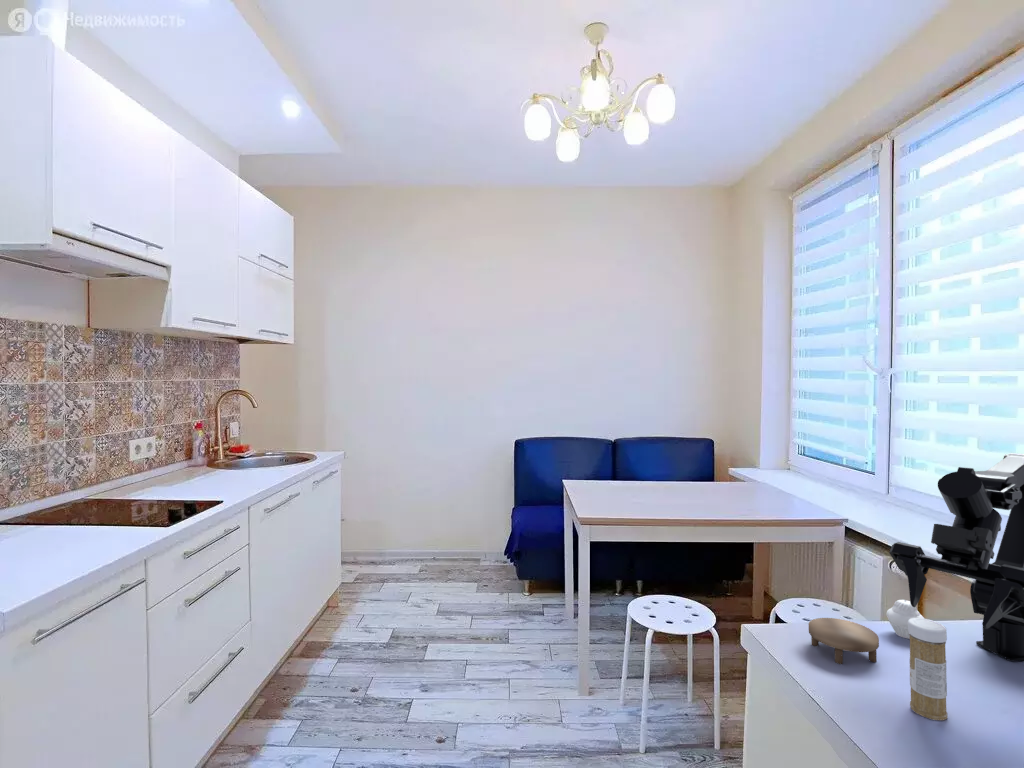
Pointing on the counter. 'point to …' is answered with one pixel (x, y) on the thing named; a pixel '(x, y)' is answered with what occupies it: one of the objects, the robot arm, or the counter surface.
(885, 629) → the counter surface
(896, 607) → the muffin
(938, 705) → the sprinkles bottle
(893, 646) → the counter surface
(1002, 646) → the robot arm
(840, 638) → the walnut footstool
